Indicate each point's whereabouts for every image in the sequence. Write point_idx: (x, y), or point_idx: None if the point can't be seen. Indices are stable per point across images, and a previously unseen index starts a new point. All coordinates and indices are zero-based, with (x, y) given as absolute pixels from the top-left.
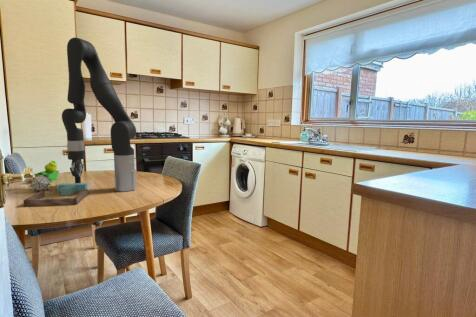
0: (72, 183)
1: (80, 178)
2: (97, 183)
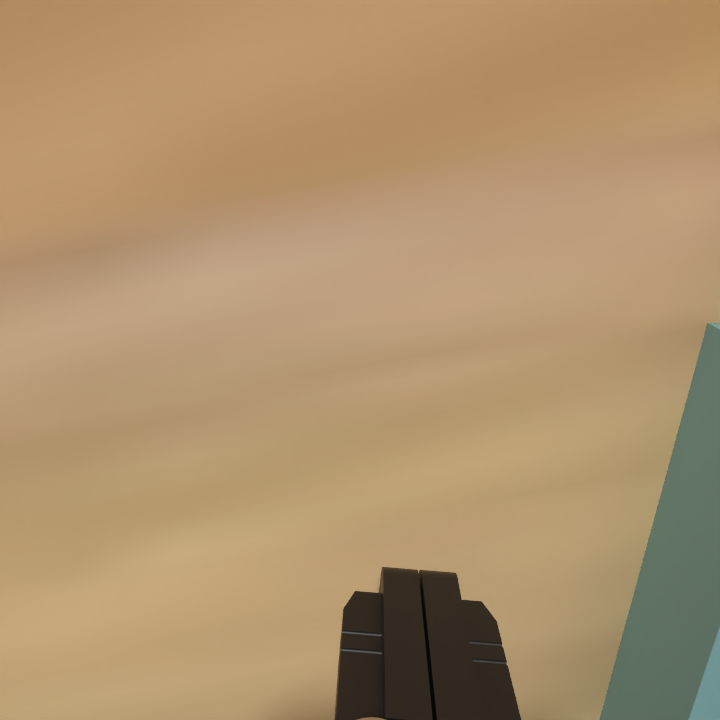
0: (715, 710)
1: (400, 658)
2: (108, 201)
